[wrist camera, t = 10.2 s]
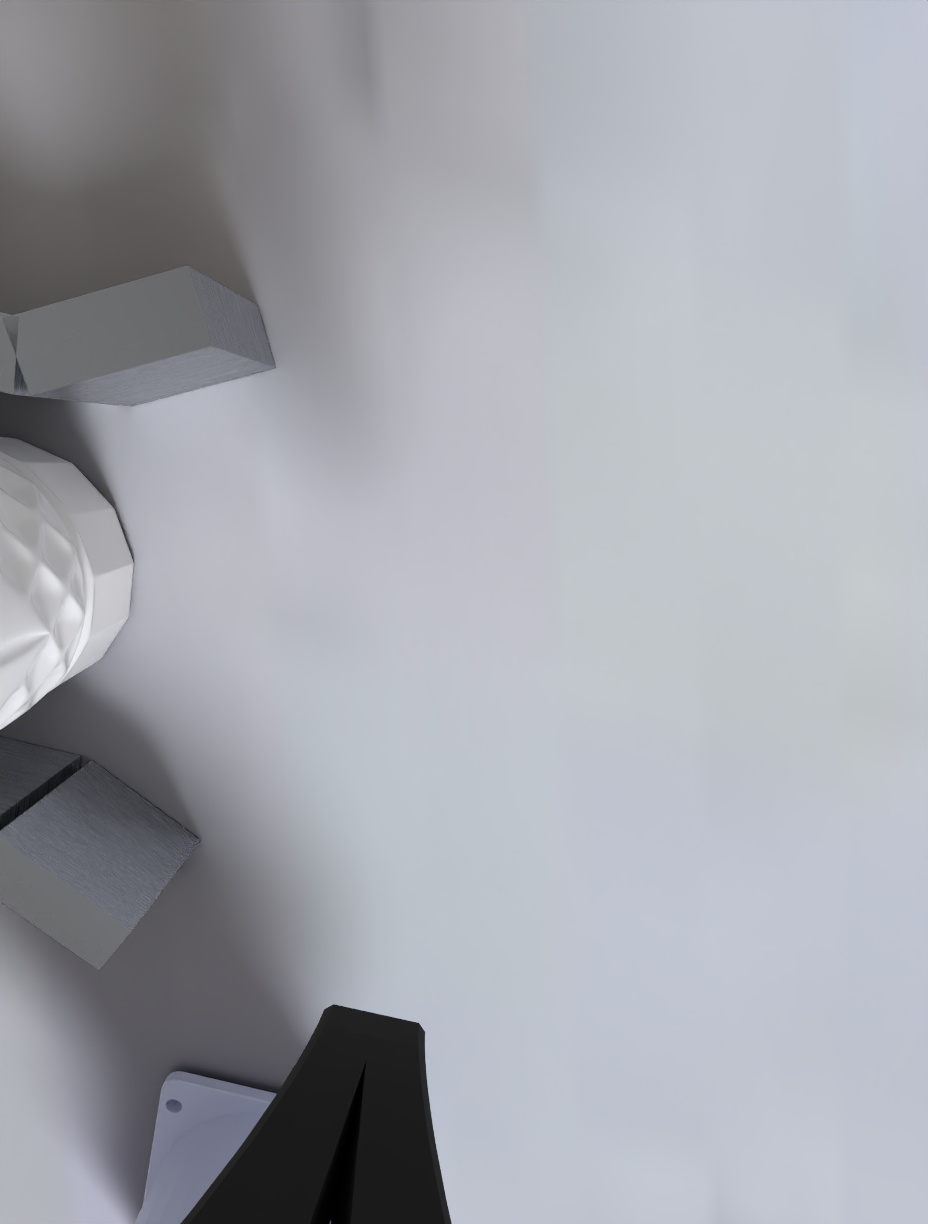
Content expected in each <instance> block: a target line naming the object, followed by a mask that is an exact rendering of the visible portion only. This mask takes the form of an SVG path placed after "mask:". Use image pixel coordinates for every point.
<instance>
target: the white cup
mask: <svg viewBox="0 0 928 1224" xmlns="http://www.w3.org/2000/svg"><path fill="white" fill-rule="evenodd" d="M133 568H134V562H133V559H132V556H131V554H130V551H129V548H128V545H127V542H126V540H125V537H124V534H123V531H122V529H121V526H120V523H119V520H118V517H117V514H116V512H115V509H114V508H113V507H112V505H111V504H110V503H109V502H108V501H107V500H106V499H105V498H104V497H103V496H102V495H101V493H100V492H99V491H98V490H97V489H96V488H95V487H94V486H93V485H92V484H91V483H90V482H89V480H88V479H87V478H86V477H85V476H84V475H83V474H82V473H81V472H80V471H79V470H78V469H77V467H76V466H75V465H74V464H72V463H71V462H68V461H66V460H64V459H62V458H59V457H57V456H55V455H53V454H51V453H48V452H46V451H44V450H42V449H40V448H37V447H35V446H33V445H31V444H28V443H26V442H24V441H22V440H20V439H16V438H7V437H0V730H1V729H2V728H4V727H5V726H7V725H8V724H10V723H11V722H12V721H14V720H15V719H17V718H18V717H19V716H21V715H22V714H24V713H26V712H27V711H28V710H29V709H30V708H31V707H32V706H33V705H35V704H36V703H37V702H38V701H39V700H40V699H41V698H42V697H44V696H45V695H46V694H47V693H48V692H50V691H51V690H53V689H54V688H56V687H57V686H58V685H60V684H62V683H63V682H65V681H67V680H68V679H70V678H71V677H73V676H75V675H76V674H78V673H80V672H81V671H83V670H85V669H86V668H88V667H89V666H91V665H93V664H94V663H96V662H97V661H99V660H100V659H101V658H102V657H103V655H104V654H105V652H106V651H107V649H108V648H109V646H110V645H111V643H112V642H113V640H114V639H115V637H116V636H117V634H118V633H119V631H120V630H121V628H122V626H123V625H124V623H125V622H126V620H127V619H128V617H129V611H130V600H131V590H132V579H133Z"/></svg>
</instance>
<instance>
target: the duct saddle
mask: <svg viewBox="0 0 928 1224" xmlns="http://www.w3.org/2000/svg"><path fill="white" fill-rule="evenodd" d="M274 368H276V367H275V364H274V360H273V357H272V353H271V350H270V346H269V343H268V339H267V336H266V332H265V329H264V325H263V322H262V318H261V315H260V311H259V308H258V305H256V304H254V303H253V302H251V301H249V300H247V299H246V298H244V297H242V296H240V295H239V294H237V293H235V292H234V291H232V290H230V289H228V288H227V287H225V286H223V285H221V284H220V283H218V282H216V281H214V280H213V279H211V278H209V277H207V276H206V275H204V274H202V273H200V272H199V271H197V270H195V269H193V268H192V267H190V266H188V265H186V266H183V267H179V268H176V269H172V270H169V271H165V272H162V273H158V274H155V275H151V276H148V277H144V278H141V279H137V280H134V281H130V282H127V283H123V284H120V285H116V286H113V287H109V288H106V289H102V290H99V291H95V292H92V293H88V294H85V295H81V296H78V297H74V298H71V299H67V300H64V301H60V302H57V303H53V304H50V305H46V306H43V307H39V308H36V309H32V310H29V311H25V312H22V313H18V314H15V315H11V314H6V313H2V312H0V392H5V393H9V394H13V395H22V396H32V397H42V398H51V399H61V400H71V401H80V402H90V403H100V404H110V405H124V406H135V405H139V404H142V403H146V402H150V401H154V400H157V399H161V398H165V397H169V396H172V395H176V394H180V393H184V392H187V391H191V390H195V389H199V388H202V387H206V386H210V385H214V384H217V383H221V382H225V381H229V380H232V379H236V378H240V377H244V376H247V375H251V374H255V373H259V372H262V371H266V370H270V369H274ZM79 765H80V755H75V754H71V753H67V752H63V751H58V750H54V749H50V748H46V747H42V746H37V745H33V744H29V743H25V742H20V741H16V740H12V739H8V738H3V737H0V902H1V903H3V904H4V905H5V906H7V907H8V908H10V909H11V910H13V911H14V912H16V913H17V914H18V915H20V916H21V917H23V918H24V919H26V920H27V921H28V922H30V923H31V924H33V925H34V926H36V927H37V928H39V929H40V930H41V931H43V932H44V933H46V934H47V935H49V936H50V937H51V938H53V939H54V940H56V941H57V942H59V943H60V944H62V945H63V946H64V947H66V948H67V949H69V950H70V951H72V952H73V953H74V954H76V955H77V956H79V957H80V958H82V959H83V960H85V961H86V962H87V963H89V964H90V965H92V966H93V967H95V968H96V969H97V970H100V969H101V968H102V966H103V965H104V964H105V963H106V962H107V960H108V959H109V958H110V957H111V956H112V954H113V953H114V952H115V951H116V950H117V948H118V947H119V946H120V945H121V944H122V942H123V941H124V940H125V939H126V938H127V936H128V935H129V934H130V933H131V932H132V930H133V929H134V928H135V926H136V925H137V924H138V922H139V921H140V920H141V918H142V917H143V916H144V915H145V913H146V912H147V911H148V909H149V908H150V907H151V905H152V904H153V903H154V901H155V900H156V899H157V897H158V896H159V895H160V893H161V892H162V891H163V889H164V888H165V887H166V885H167V884H168V883H169V882H170V880H171V879H172V878H173V876H174V875H175V874H176V872H177V871H178V870H179V868H180V867H181V866H182V864H183V863H184V862H185V860H186V859H187V858H188V856H189V855H190V854H191V853H192V851H193V850H194V849H195V847H196V846H197V845H198V843H199V842H200V841H201V840H200V839H198V838H197V837H196V836H194V835H193V834H192V833H190V832H189V831H188V830H186V829H185V828H184V827H182V826H181V825H179V824H178V823H177V822H175V821H174V820H173V819H171V818H170V817H169V816H167V815H166V814H164V813H163V812H162V811H160V810H159V809H158V808H156V807H155V806H154V805H152V804H151V803H149V802H148V801H147V800H145V799H144V798H143V797H141V796H140V795H139V794H137V793H136V792H134V791H133V790H132V789H130V788H129V787H128V786H126V785H125V784H124V783H122V782H121V781H120V780H118V779H117V778H115V777H114V776H113V775H111V774H110V773H109V772H107V771H106V770H105V769H103V768H102V767H100V766H99V765H98V764H96V763H95V762H94V761H92V760H91V761H90V762H89V763H88V764H86V765H85V766H84V767H82V768H81V769H80V770H79Z"/></svg>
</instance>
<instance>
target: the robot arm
mask: <svg viewBox="0 0 928 1224" xmlns="http://www.w3.org/2000/svg"><path fill="white" fill-rule="evenodd" d="M174 1099H175V1100H174ZM134 1224H451V1219H450V1215H449V1210H448V1206H447V1201H446V1196H445V1191H444V1186H443V1181H442V1175H441V1170H440V1165H439V1160H438V1154H437V1149H436V1144H435V1138H434V1131H433V1125H432V1118H431V1111H430V1103H429V1096H428V1087H427V1077H426V1064H425V1031H424V1030H423V1028H422V1027H421V1025H420V1024H419V1023H416V1022H411V1021H407V1020H402V1019H398V1018H393V1017H389V1016H384V1015H380V1014H375V1013H370V1012H366V1011H361V1010H357V1009H352V1008H348V1007H343V1006H339V1005H332V1006H330V1007H328V1008H326V1009H324V1012H323V1014H322V1016H321V1018H320V1021H319V1023H318V1025H317V1027H316V1029H315V1031H314V1033H313V1035H312V1037H311V1039H310V1041H309V1042H308V1044H307V1046H306V1048H305V1049H304V1051H303V1053H302V1055H301V1056H300V1058H299V1060H298V1061H297V1063H296V1065H295V1066H294V1068H293V1069H292V1071H291V1073H290V1074H289V1076H288V1077H287V1079H286V1081H285V1082H284V1084H283V1085H282V1087H281V1089H280V1090H279V1092H278V1093H277V1094H276V1093H272V1092H268V1091H264V1090H259V1089H255V1088H251V1087H247V1086H242V1085H238V1084H234V1083H230V1082H225V1081H221V1080H217V1079H213V1078H208V1077H204V1076H200V1075H195V1074H191V1073H187V1072H181V1071H176V1072H173V1073H171V1074H169V1075H168V1076H167V1078H166V1080H165V1082H164V1084H163V1086H162V1088H161V1093H160V1099H159V1106H158V1112H157V1118H156V1125H155V1131H154V1137H153V1144H152V1150H151V1156H150V1163H149V1169H148V1175H147V1182H146V1188H145V1194H144V1200H143V1206H142V1208H141V1210H140V1212H139V1215H138V1217H137V1219H136V1221H135V1223H134Z"/></svg>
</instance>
